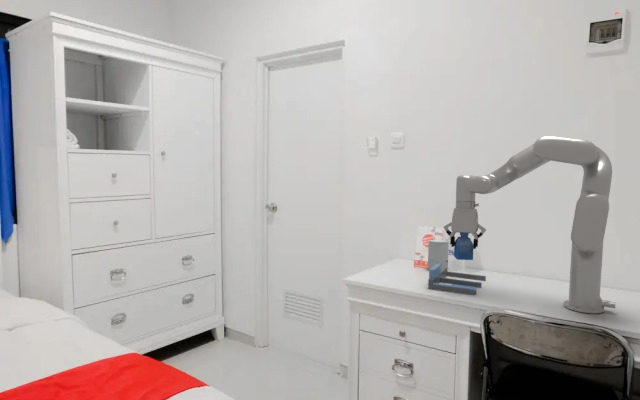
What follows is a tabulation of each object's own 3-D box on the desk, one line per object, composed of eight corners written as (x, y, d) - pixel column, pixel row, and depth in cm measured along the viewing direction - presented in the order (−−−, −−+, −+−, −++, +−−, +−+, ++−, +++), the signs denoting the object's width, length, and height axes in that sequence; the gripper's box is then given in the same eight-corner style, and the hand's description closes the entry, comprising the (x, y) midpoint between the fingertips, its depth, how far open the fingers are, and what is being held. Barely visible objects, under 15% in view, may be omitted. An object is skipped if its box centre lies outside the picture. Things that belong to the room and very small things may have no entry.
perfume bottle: (469, 256, 181) (470, 228, 180) (472, 260, 175) (474, 230, 174) (454, 256, 181) (455, 228, 181) (457, 259, 175) (458, 230, 174)
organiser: (485, 280, 193) (486, 262, 193) (476, 295, 170) (476, 275, 169) (443, 275, 202) (443, 258, 202) (428, 288, 179) (428, 270, 178)
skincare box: (435, 272, 207) (436, 242, 206) (427, 269, 213) (427, 240, 212) (448, 270, 211) (449, 240, 210) (439, 268, 217) (440, 239, 216)
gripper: (489, 205, 175) (487, 248, 177) (445, 203, 184) (444, 244, 185) (486, 207, 169) (484, 251, 170) (441, 204, 177) (440, 246, 179)
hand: (463, 247), depth 178 cm, fingers closed on perfume bottle, 8 cm apart
